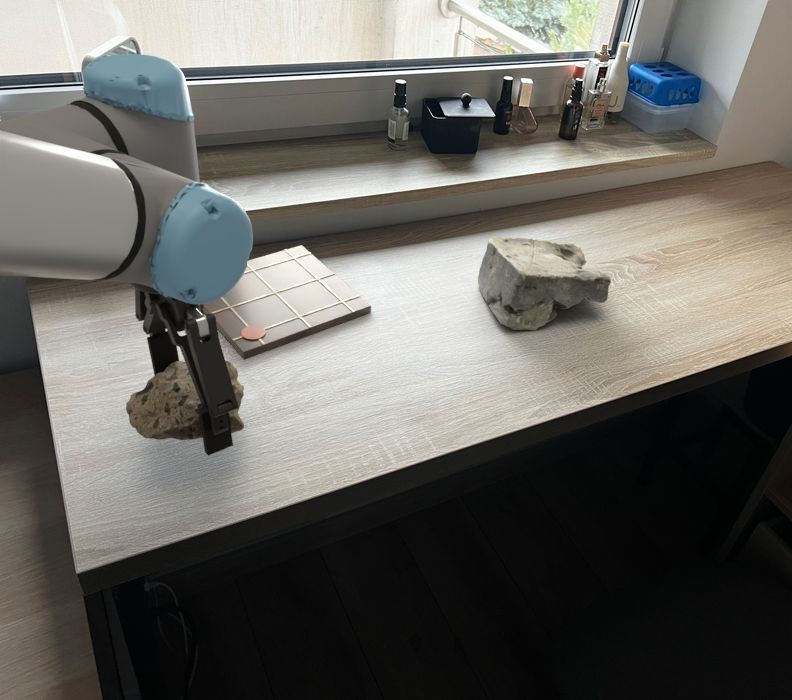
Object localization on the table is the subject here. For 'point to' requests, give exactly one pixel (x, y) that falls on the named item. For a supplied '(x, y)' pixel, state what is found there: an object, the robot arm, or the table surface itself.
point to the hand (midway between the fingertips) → (193, 413)
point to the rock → (175, 405)
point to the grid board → (283, 302)
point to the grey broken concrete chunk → (536, 280)
